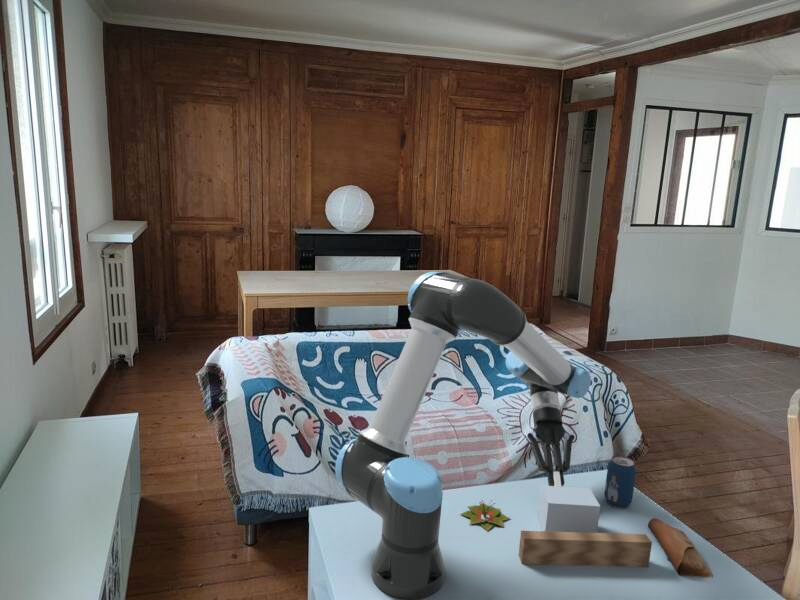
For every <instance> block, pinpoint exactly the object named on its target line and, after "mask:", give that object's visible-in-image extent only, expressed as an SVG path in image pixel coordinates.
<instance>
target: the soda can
mask: <svg viewBox="0 0 800 600" xmlns="http://www.w3.org/2000/svg"><path fill="white" fill-rule="evenodd" d="M610 458H611V459H610V461H609V462H608V463H607V471H606V478H605V485H604V493H603V496H604V499H605V502H606V503H607V504H608V505H610V506H611V507H614V508H615V509H627V508H628V507H629V506H630V505H631V504H632V503H633V498H634V497H633V495H634V490H635V483H636V475H637V466H636V465H635V464H636V463H635V461H634V460H633V459H632V458H630V457H627V456H623V455H614V456H612V457H610Z"/></svg>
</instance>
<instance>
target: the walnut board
mask: <svg viewBox="0 0 800 600" xmlns="http://www.w3.org/2000/svg"><path fill="white" fill-rule="evenodd" d="M652 546H653V542H652V540H651V538H649V536H647V534H644V533H611V532H597V533H585V532H552V531H542V530H521V531H520V536H519V546H518V557H519V560H520V564H522V565H523V564H525V565H554V566H555V565H557V566H558V565H559V566H560V565H561V566H592V567H594V566H595V567H597V566H598V567H624V568H625V567H631V568H633V567H634V568H649V564H650V559H651V551H652Z"/></svg>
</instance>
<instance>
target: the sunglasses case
mask: <svg viewBox="0 0 800 600" xmlns="http://www.w3.org/2000/svg"><path fill="white" fill-rule="evenodd" d="M647 527H648V529H649V530H650V532H651V533H652V535H653V536H654V539H656V541H657V542H658V544H659V546H660V547H661V548H662V550H663V551H664V554H665V555H666V556H667V559H668V560H669V562H670V564H671V565H672V567H673V568H674V570H675V572H677V574H678V576H683V577H698V578H714V575H713V573H712V572H711V570H710V568H709V566H708V565H707V563H706V562H705V560H704V558H702V556H701V555H700V553H699V552H698V550H697V549H696V547H695V545H694V543H693V542H692V540H691V539H689V537H688V536H687V534H686V533H685V532H684V531H683V530H681V529H678V528H677V527H674V526H672V525H670V524H668V523H667V522H665V521H663V520H662V519H660V518H658V517H653V518H651V519H650V520H649V521H648V523H647Z"/></svg>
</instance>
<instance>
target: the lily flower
mask: <svg viewBox="0 0 800 600" xmlns="http://www.w3.org/2000/svg"><path fill="white" fill-rule="evenodd" d="M491 502H493V499H491V500H490V502H489V503H488V504H486V503H484V500H483V499H481V501H480V502H479V505H471V506H470V505H468V506H467V507H468V508H469V510H467V511H463V512H462V513H460V515H461V516H464V517H467V518H469V519H470V523H469V525H470V526H471V525H473V524H479V525H481V527H482V528H483V529H484V530H486V531H487V532H489V530H490V529H492V528H493V527H494V525H498V526H500V527H502V528H505V526H504V524H503V521H507V520H510V519H511V517H509V516H507V515H505V514H502V513H500V512H501V508H496V507H494V505H496V503H493V504H491ZM482 516H483V518H482ZM487 516H488V517H489V519H486V518H487ZM484 518H485V519H484ZM486 522H488V523H486Z"/></svg>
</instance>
